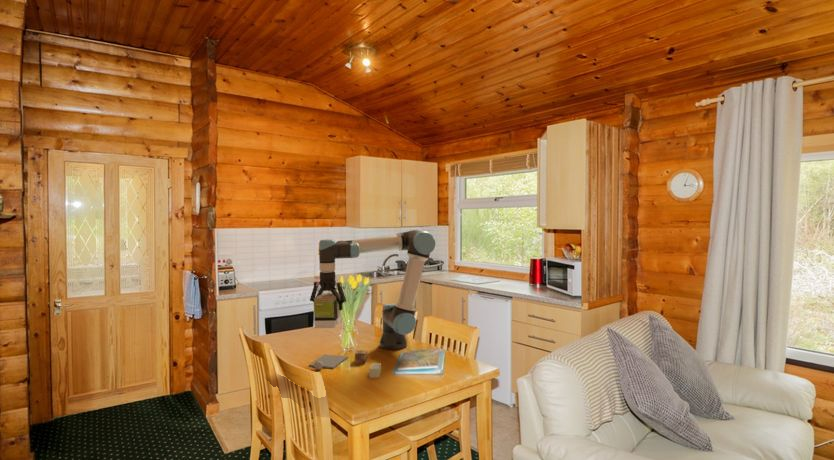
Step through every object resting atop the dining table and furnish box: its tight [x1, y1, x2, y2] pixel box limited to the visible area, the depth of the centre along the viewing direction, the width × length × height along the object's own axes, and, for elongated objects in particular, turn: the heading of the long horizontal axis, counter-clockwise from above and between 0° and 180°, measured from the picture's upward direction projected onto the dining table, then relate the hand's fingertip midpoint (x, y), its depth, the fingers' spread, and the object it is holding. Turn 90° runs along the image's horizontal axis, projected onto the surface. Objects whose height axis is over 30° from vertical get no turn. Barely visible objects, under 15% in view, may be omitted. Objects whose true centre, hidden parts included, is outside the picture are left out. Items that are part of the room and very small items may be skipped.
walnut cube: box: [354, 349, 368, 365], centre depth 227 cm, size 5×5×5 cm
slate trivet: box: [308, 354, 349, 370], centre depth 227 cm, size 13×16×1 cm
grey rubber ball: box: [313, 361, 323, 370], centre depth 216 cm, size 4×4×4 cm
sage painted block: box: [368, 362, 382, 379], centre depth 210 cm, size 4×8×4 cm, turn 177°
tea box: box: [313, 291, 342, 329], centre depth 225 cm, size 15×10×15 cm
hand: (328, 316), depth 225 cm, fingers closed on tea box, 11 cm apart
